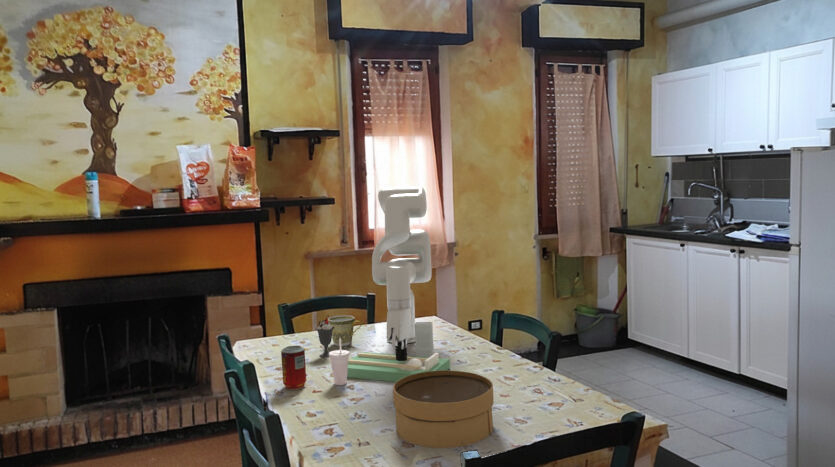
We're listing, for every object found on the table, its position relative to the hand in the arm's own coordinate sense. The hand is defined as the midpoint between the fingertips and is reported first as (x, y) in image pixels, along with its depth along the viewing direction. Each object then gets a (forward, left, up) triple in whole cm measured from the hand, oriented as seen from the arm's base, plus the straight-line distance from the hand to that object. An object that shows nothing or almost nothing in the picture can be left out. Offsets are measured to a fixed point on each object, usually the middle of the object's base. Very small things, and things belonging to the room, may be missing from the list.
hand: (401, 360), depth 206 cm
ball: (0, +4, -2) cm, 5 cm away
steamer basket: (+38, +29, -4) cm, 48 cm away
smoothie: (+15, -14, -4) cm, 21 cm away
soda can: (+22, -26, -4) cm, 34 cm away
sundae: (-11, -35, -4) cm, 37 cm away
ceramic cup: (-27, -36, -4) cm, 45 cm away
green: (0, -3, -4) cm, 5 cm away
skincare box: (-19, 0, -4) cm, 20 cm away
